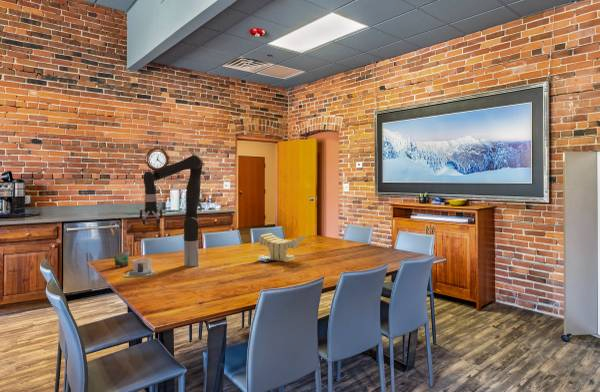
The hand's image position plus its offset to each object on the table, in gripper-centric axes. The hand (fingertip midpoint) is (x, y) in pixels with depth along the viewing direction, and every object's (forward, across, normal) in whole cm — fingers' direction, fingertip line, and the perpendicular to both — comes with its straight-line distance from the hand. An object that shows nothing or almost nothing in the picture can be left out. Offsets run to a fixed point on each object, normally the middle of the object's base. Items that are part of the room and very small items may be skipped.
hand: (151, 224), depth 249 cm
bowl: (+28, +5, +9) cm, 30 cm away
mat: (+28, +4, +22) cm, 36 cm away
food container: (+28, +18, -2) cm, 34 cm away
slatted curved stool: (+28, -90, +4) cm, 94 cm away
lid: (+28, +4, +22) cm, 35 cm away
